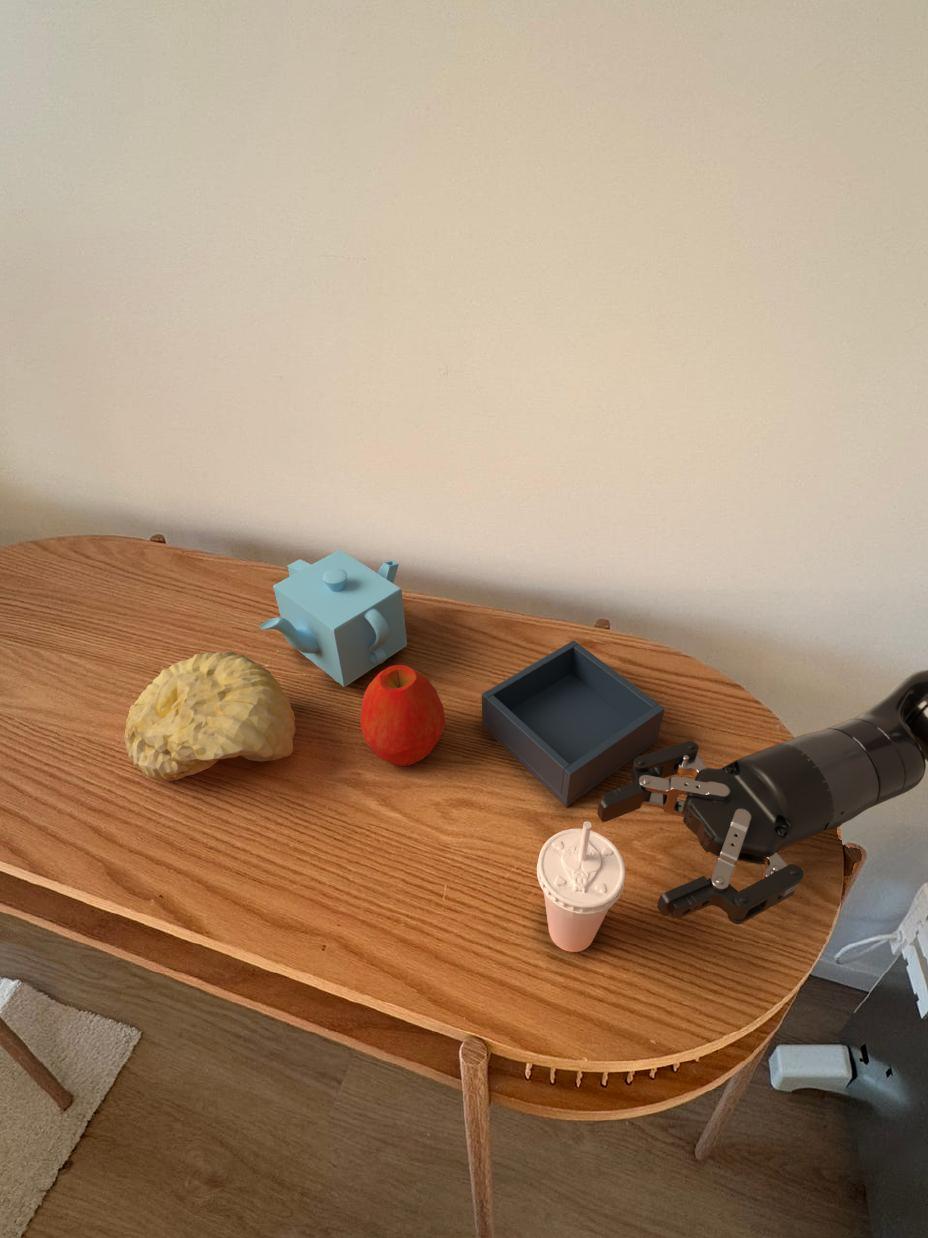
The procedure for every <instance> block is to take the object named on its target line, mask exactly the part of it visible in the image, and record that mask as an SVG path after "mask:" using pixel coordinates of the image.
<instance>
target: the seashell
mask: <svg viewBox="0 0 928 1238" xmlns="http://www.w3.org/2000/svg"><path fill="white" fill-rule="evenodd" d="M295 720H296V719H295V713H294V710H293V708H292V705H291V701H290V699H289V698H288V697H287V695H286V693H285V691H284V690H283V689H282V687H281V685H280V682H279V681H278V680H277V679H276V678H275V677H274V676H273V675H272V673H271V672H270V670H268V669H267V668H266V667H264V666H262V665H261V664H257V663H256V662H255V661H254V660H252V659H250V658H249V657H247V656H245V655H244V654H238V653H236V652H234V651H217V652H216V653H215V652H206V653H199V652H198V653H195V654H194V655H193V656H192V657H190V658H187V659H182V660H180V661H178V662H175V663H173V664H172V665H170V666H169V667H168V668H163V669H162V670H161V671H160V673H159V675H158V676H156V677H155V678H154V679H153V681H152V683H150V684H148V685H147V687H146V688H145V690H143V691H142V692H141V694H140V695H139V696H138V699H137V700H136V701H135V702H134V704H131V705H130V707H129V711H128V714H127V717H126V720H125V729H124V734H123V740H124V744H125V750H126V753H127V754H128V755H127V756H128V758H129V759H130V761H131V762H130V763H132V765H133V766H134V767H136V768H138V769H139V770H140V772H141V773H144V774H145V775H146V776H148V777H149V778H151V779H152V780H154V781H157V782H167V781H178V780H180V779H183V778H185V777H187V776H193V775H195V774H198V773H200V772H203V771H205V770H207V769H208V770H209V768H211V767H212V766H213V765H214V764H217V763H218V761H219V760H224V759H232V758H233V759H234V758H236V757H239V756H240V757H242V758H244V759H246V760H247V761H255V762H262V763H263V762H267V761H268V762H269V761H277V760H280V759H282V758H287V757H289V756H291V755H292V753H294V743H293V739H294V736H295V734H296V726H295V722H296V721H295Z"/></svg>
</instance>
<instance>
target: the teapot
mask: <svg viewBox="0 0 928 1238" xmlns="http://www.w3.org/2000/svg"><path fill="white" fill-rule="evenodd" d="M399 565H400V564H399V563H398V562H397V561H395V560H393V559H390V560H387V561H383V562H382V565H381V566H380V568H379V569H378V570H377V572H376V571H374V570H373V569H372V568H370V567H368V566H367V565H366V564H364V563H362V562H360V561H358V559H355V557H353V556H351V555H349V554H347V552H344V551H343V550H341V549H338V550H336V551H334V552H333V553H330V554H329V555H327V556H325V557H323V558H320V559H319V560H317V561H316V562H314V563H309V562H307V561H305V560H303V559H302V558H301V559H300V558H299V559H297V560H295V561H294V562H292V563H290V564H288V565H287V570H288V575H289V576H287V577H286V578H285V579H282V580H281V581H279V582H277V583H275V584H273V586H272V588H273V592H274V595H275V600H276V604H277V609H278V612H279V616H277V617H273V618H269V619H268V620H265V621H264V622H262V623H261V624H260V625H259V629H260V630H266V631H267V630H276V631H278V632H280V633H281V634H282V636H283V637H284V639H285V641H286V642H287V643H288V644H289V645H290V646H291V647H292V648H293V649H295V650H296V651H299V652H300V654H302V655H303V656H304V657H305V659H308V660H309V661H310V662H312V663H313V664H314V665H316V666H317V667H318V668H319V669H321V670H322V671H323V672H324V673H325V674H327V675H328V676H329V677H331V678H332V679H333V680H334V681H335V682H336V683H337V684H339V685H340V686H342V687H343V688H346V687H347V686H348V685H351V684H352V683H353V682H355V681H357V679H359V678H361V677H362V676H364V675H365V674H366V673H369V672H370V671H371V670H373V669H374V668H376V667H378V665H381V664H383V663H384V662H385V661H386V660H388V659H389V658H390V657H392V656H394V655H395V654H397V653H398V652H399V651H401V650H403V649H404V648H406V647H407V646H408V639H407V638H408V637H407V629H406V617H405V609H404V598H403V589H401V588H400V587H399V586H398V585H396V584H394V582H395V579H396V577H397V572H398V569H399V568H398V567H399ZM299 652H298V653H299Z"/></svg>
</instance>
